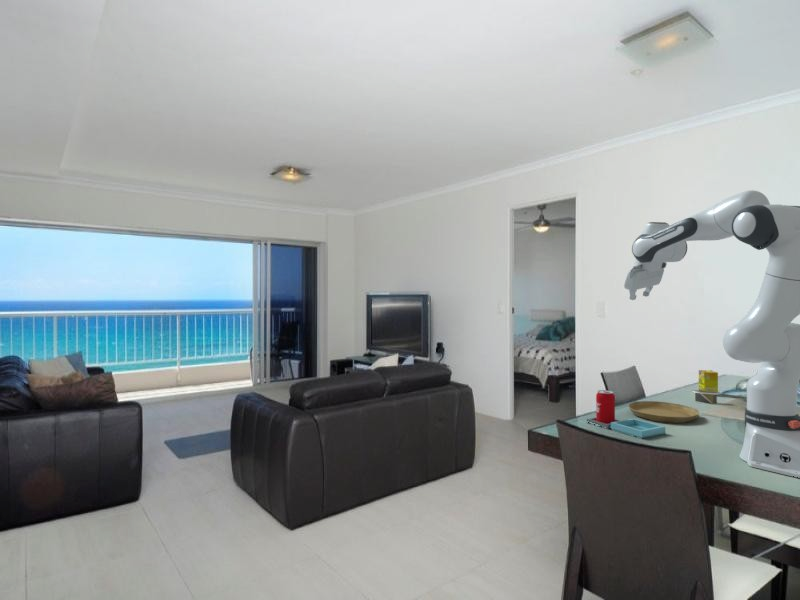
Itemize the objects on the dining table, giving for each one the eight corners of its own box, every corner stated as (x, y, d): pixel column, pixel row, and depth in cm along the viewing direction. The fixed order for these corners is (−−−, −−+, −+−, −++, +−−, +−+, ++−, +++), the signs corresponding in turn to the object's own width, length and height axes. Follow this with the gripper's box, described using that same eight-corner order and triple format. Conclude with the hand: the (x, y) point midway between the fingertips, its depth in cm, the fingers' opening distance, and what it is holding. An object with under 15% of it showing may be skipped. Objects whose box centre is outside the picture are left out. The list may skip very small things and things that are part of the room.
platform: (733, 408, 195) (733, 392, 195) (682, 404, 204) (682, 389, 204) (729, 402, 206) (729, 387, 206) (681, 398, 214) (681, 384, 214)
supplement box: (698, 392, 225) (698, 369, 225) (711, 393, 224) (711, 370, 224) (704, 395, 219) (704, 372, 219) (718, 395, 218) (718, 372, 218)
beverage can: (605, 421, 175) (605, 389, 175) (618, 425, 169) (618, 392, 169) (592, 423, 173) (592, 390, 172) (605, 427, 167) (605, 393, 167)
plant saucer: (695, 428, 166) (695, 419, 166) (622, 418, 180) (621, 409, 180) (702, 414, 185) (702, 406, 185) (634, 406, 199) (634, 398, 199)
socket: (624, 425, 169) (624, 421, 169) (607, 429, 165) (607, 424, 165) (603, 419, 177) (603, 415, 177) (586, 422, 173) (586, 418, 173)
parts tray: (665, 433, 159) (665, 426, 159) (641, 438, 153) (641, 431, 153) (633, 425, 169) (633, 418, 169) (610, 429, 164) (610, 422, 164)
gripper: (640, 268, 171) (631, 304, 176) (669, 263, 182) (660, 296, 187) (624, 264, 176) (616, 299, 181) (653, 259, 187) (645, 291, 192)
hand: (639, 297), depth 184 cm, fingers open, 8 cm apart
